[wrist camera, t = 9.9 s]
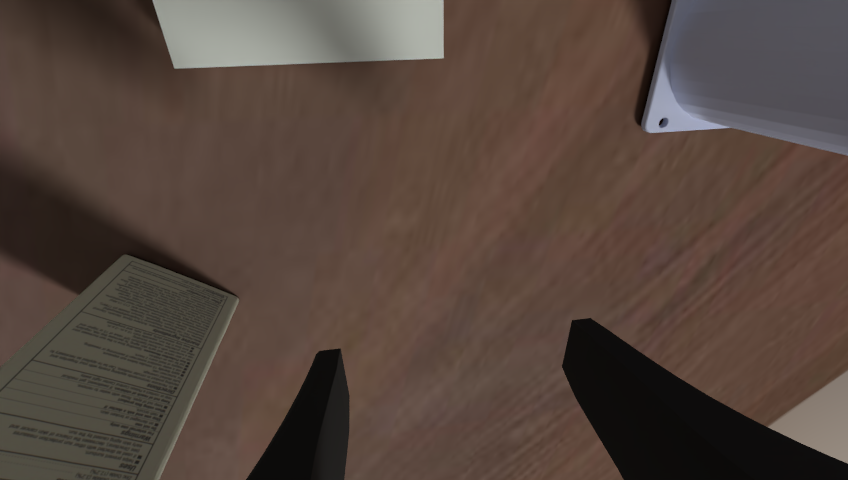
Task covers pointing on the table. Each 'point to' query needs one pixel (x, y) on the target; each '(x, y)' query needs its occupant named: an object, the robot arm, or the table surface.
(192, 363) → the skincare box
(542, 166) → the table surface
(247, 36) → the socket block
